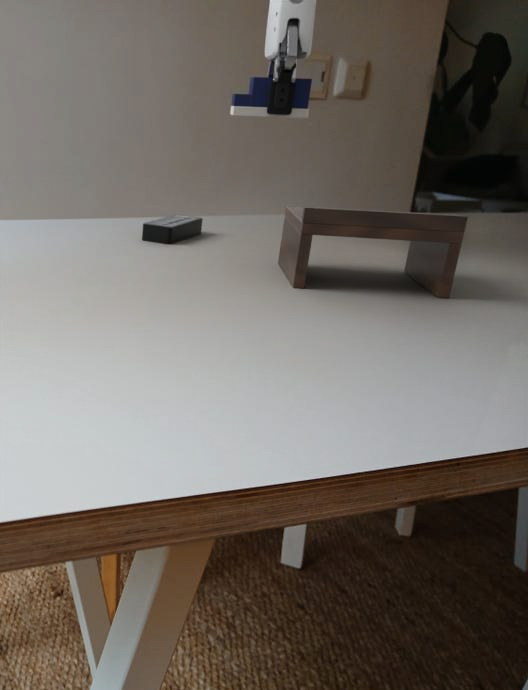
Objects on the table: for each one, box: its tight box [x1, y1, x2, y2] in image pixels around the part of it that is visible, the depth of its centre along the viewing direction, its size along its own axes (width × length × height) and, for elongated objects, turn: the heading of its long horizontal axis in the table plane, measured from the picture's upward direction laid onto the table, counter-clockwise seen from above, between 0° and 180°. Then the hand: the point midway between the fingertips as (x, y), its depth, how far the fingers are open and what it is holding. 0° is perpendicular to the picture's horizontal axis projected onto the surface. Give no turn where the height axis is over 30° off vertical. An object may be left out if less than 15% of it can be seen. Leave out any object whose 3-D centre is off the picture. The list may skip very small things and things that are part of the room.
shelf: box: [277, 206, 469, 299], centre depth 83 cm, size 16×12×9 cm
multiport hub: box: [141, 214, 203, 245], centre depth 105 cm, size 4×11×2 cm, turn 146°
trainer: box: [229, 76, 313, 119], centre depth 102 cm, size 10×4×5 cm, turn 82°
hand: (276, 112), depth 102 cm, fingers closed on trainer, 4 cm apart
